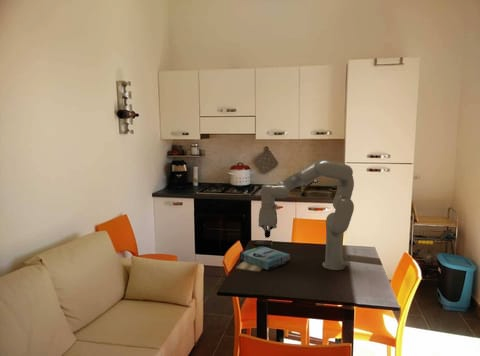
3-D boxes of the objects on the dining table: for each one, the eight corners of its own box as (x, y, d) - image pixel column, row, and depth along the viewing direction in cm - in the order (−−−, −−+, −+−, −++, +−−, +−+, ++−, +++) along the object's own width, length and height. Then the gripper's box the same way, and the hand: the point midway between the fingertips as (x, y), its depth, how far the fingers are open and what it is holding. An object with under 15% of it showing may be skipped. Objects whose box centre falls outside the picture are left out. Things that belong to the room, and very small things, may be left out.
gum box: (290, 261, 219) (261, 253, 236) (290, 253, 219) (261, 245, 235) (268, 270, 206) (239, 260, 222) (268, 261, 205) (239, 252, 222)
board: (270, 259, 225) (270, 258, 225) (259, 272, 205) (259, 271, 205) (249, 256, 230) (249, 255, 230) (235, 268, 210) (235, 267, 210)
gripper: (282, 205, 211) (281, 237, 213) (257, 203, 217) (257, 234, 219) (278, 208, 204) (278, 240, 206) (253, 206, 210) (252, 237, 212)
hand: (267, 237), depth 213 cm, fingers closed
